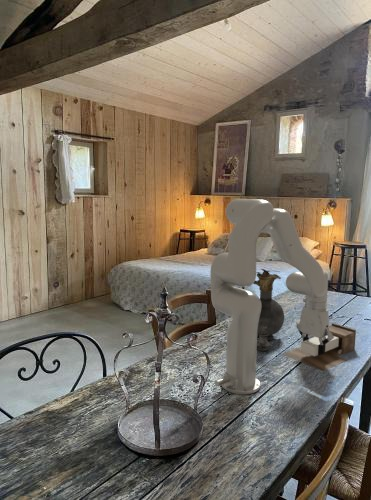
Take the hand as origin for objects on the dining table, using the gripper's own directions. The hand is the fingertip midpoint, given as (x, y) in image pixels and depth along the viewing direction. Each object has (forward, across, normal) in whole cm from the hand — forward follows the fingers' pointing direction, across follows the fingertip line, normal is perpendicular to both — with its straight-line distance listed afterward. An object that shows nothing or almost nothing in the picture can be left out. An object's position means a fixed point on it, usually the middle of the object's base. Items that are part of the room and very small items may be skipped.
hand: (313, 350), depth 151 cm
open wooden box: (+4, 0, +6) cm, 7 cm away
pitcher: (+4, -28, +2) cm, 28 cm away
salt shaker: (+4, -16, -10) cm, 19 cm away
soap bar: (0, 0, +4) cm, 4 cm away
